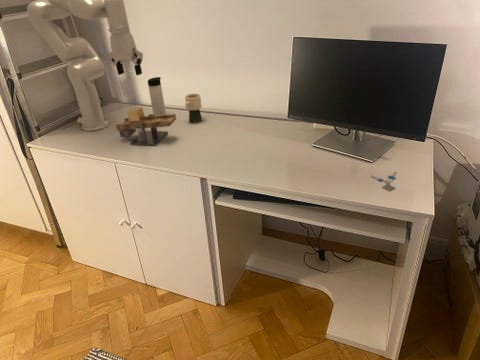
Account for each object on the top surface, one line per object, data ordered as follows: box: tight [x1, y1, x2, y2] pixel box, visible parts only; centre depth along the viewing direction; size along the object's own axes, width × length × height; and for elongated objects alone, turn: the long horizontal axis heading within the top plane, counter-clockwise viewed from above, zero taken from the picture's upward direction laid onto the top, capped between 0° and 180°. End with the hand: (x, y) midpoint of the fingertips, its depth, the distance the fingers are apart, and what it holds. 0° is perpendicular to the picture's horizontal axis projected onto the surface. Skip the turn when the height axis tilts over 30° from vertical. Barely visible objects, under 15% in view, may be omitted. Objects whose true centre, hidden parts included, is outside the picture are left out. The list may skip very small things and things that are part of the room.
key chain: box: [370, 171, 397, 192], centre depth 125 cm, size 14×8×1 cm, turn 158°
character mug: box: [184, 93, 203, 123], centre depth 179 cm, size 11×7×13 cm, turn 148°
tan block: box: [126, 107, 146, 123], centre depth 162 cm, size 5×5×6 cm
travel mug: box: [147, 76, 167, 116], centre depth 186 cm, size 6×7×20 cm
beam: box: [115, 113, 177, 139], centre depth 163 cm, size 25×8×6 cm, turn 77°
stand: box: [129, 113, 169, 147], centre depth 164 cm, size 12×14×10 cm
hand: (130, 74), depth 156 cm, fingers open, 9 cm apart
